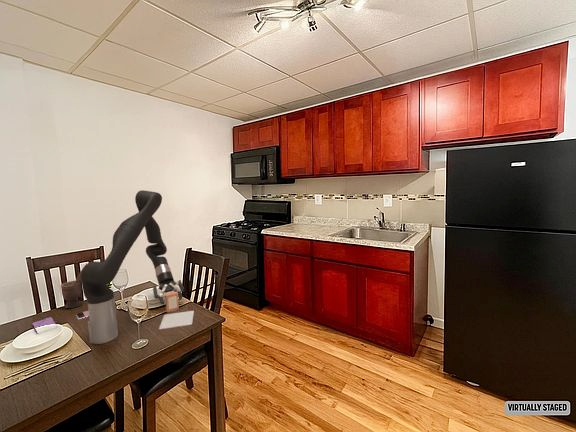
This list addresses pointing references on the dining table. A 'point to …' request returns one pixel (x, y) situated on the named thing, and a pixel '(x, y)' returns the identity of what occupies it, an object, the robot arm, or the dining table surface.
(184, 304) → the dining table surface
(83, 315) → the mobile phone
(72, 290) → the mortar and pestle
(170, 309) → the card box
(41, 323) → the sponges
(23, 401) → the dining table surface
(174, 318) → the mat
